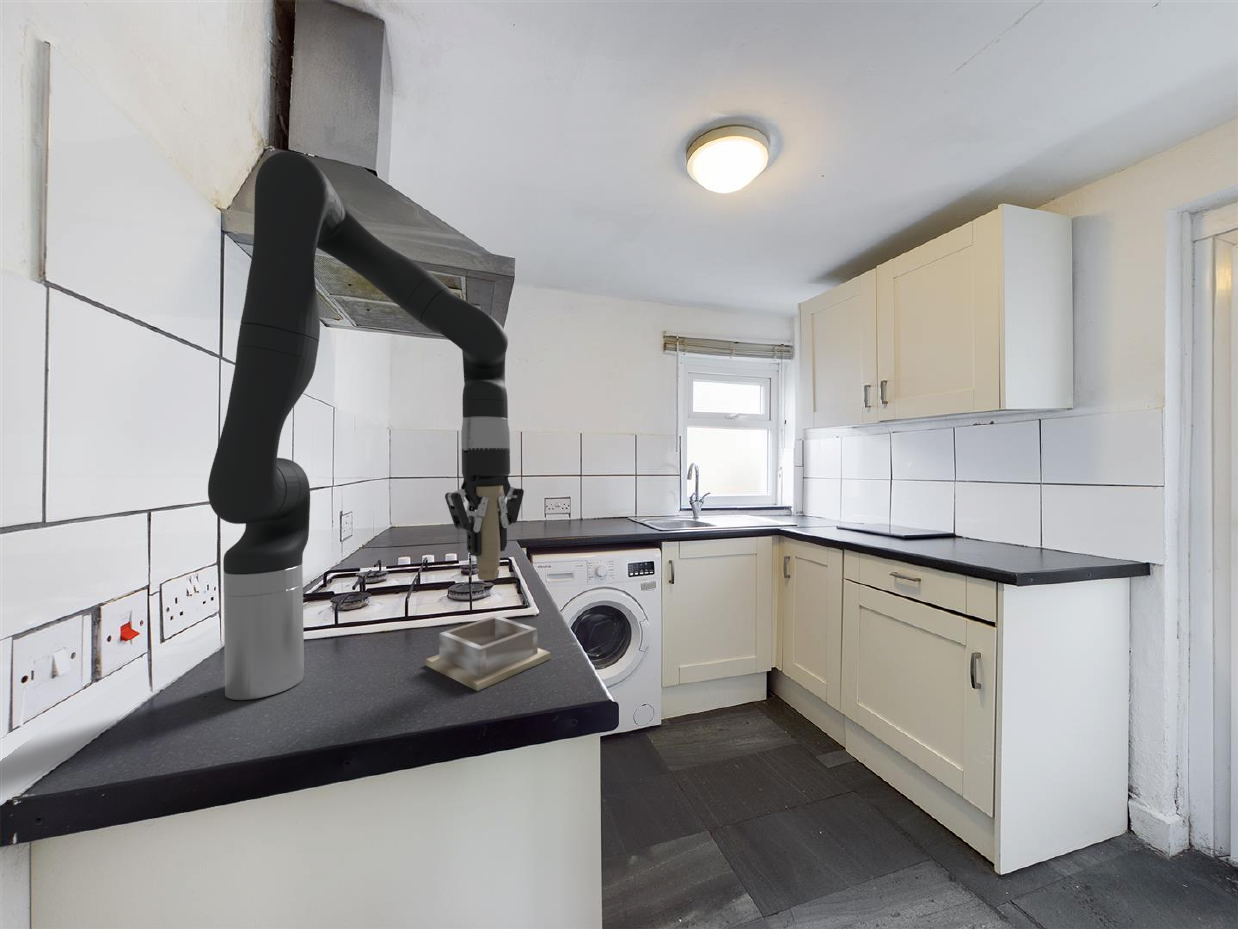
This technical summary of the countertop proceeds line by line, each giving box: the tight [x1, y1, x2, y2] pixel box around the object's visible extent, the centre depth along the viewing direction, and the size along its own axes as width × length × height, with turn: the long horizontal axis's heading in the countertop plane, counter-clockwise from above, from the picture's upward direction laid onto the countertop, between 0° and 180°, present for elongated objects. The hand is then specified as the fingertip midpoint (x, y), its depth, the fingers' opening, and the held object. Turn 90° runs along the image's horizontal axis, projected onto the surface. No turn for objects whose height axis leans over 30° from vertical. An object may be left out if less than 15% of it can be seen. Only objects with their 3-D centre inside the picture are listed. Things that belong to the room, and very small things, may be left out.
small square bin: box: [425, 615, 552, 692], centre depth 77 cm, size 14×14×5 cm
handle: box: [475, 486, 503, 582], centre depth 76 cm, size 5×6×15 cm
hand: (487, 552), depth 77 cm, fingers closed on handle, 4 cm apart
